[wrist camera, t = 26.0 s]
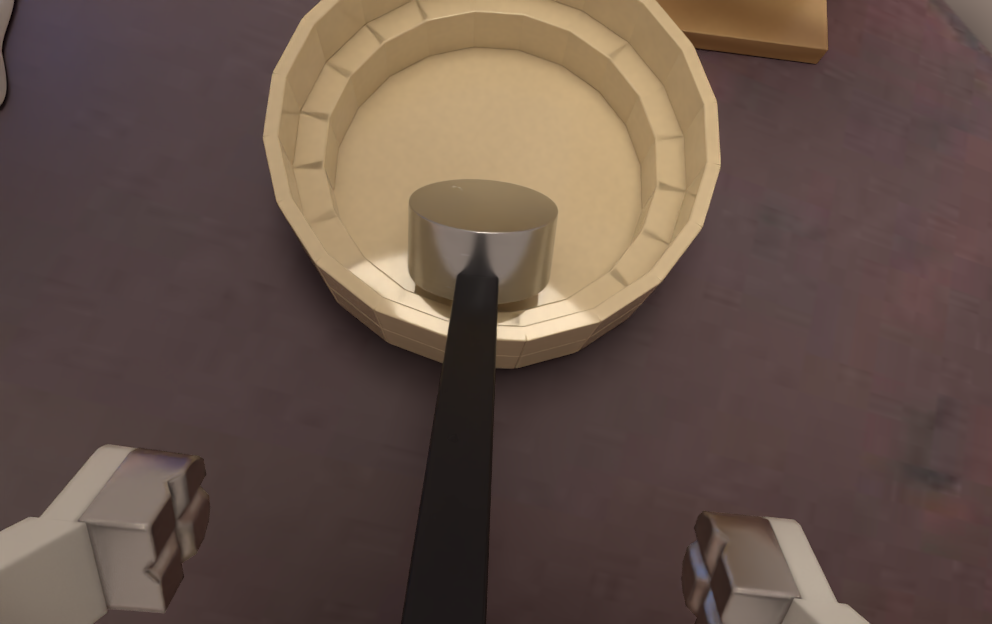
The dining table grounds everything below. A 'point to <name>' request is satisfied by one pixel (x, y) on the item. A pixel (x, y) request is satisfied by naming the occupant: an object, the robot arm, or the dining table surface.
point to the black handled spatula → (467, 375)
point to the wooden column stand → (754, 26)
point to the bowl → (494, 152)
